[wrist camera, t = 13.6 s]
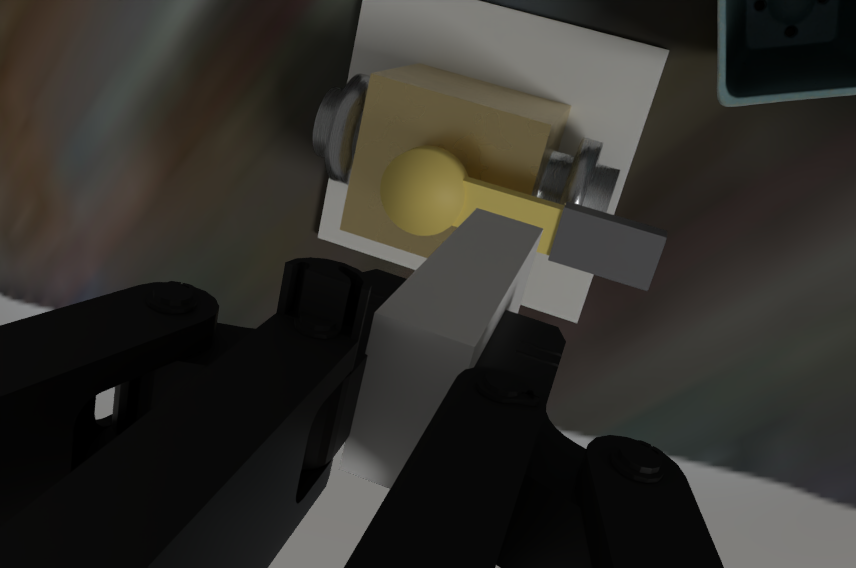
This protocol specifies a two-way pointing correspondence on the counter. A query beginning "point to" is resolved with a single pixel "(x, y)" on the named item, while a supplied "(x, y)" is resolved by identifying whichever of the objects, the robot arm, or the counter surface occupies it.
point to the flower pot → (785, 51)
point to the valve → (449, 144)
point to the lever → (518, 217)
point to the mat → (523, 71)
